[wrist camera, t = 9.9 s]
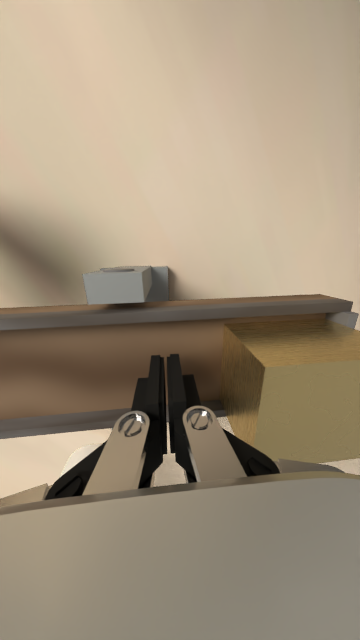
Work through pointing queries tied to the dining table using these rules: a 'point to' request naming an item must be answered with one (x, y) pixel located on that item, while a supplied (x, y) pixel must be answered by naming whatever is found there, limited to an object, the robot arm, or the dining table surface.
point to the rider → (293, 388)
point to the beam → (123, 354)
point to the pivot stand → (127, 285)
